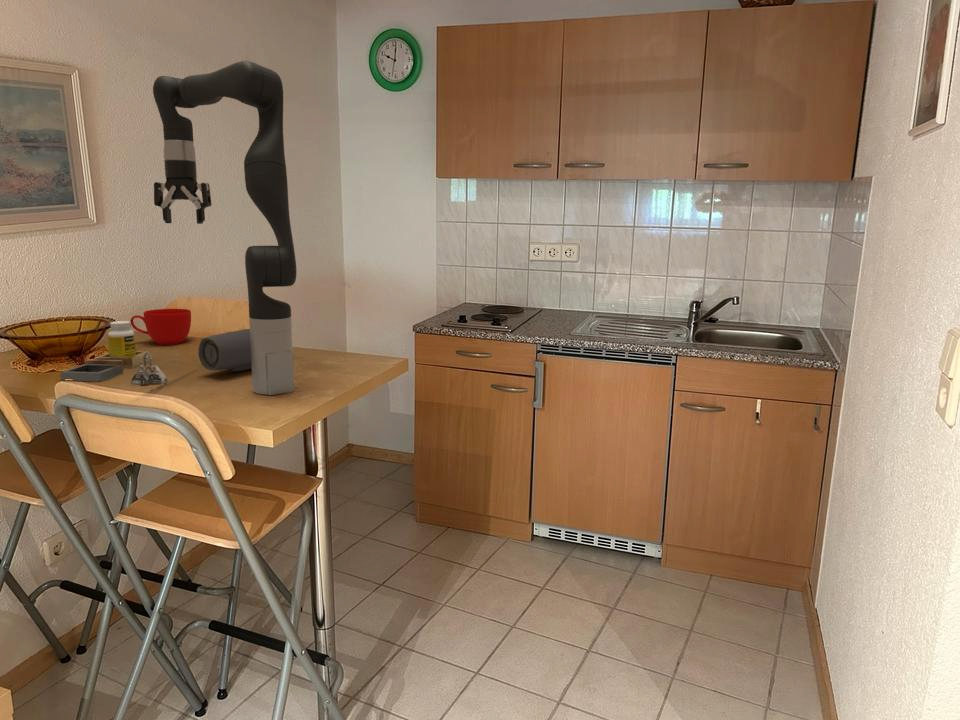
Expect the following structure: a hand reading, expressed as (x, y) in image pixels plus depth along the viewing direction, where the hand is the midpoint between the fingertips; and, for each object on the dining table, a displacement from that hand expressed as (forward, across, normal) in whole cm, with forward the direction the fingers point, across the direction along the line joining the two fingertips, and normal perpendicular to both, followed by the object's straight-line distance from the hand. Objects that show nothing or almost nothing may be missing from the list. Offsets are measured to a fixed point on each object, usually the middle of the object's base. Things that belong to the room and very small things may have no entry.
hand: (184, 223), depth 189 cm
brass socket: (+36, +14, +10) cm, 40 cm away
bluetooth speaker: (+36, -19, +10) cm, 42 cm away
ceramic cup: (+36, +18, -19) cm, 45 cm away
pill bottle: (+36, +14, +10) cm, 40 cm away
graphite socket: (+36, +13, +24) cm, 46 cm away
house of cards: (+37, -2, +31) cm, 48 cm away
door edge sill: (+36, +15, +17) cm, 43 cm away
